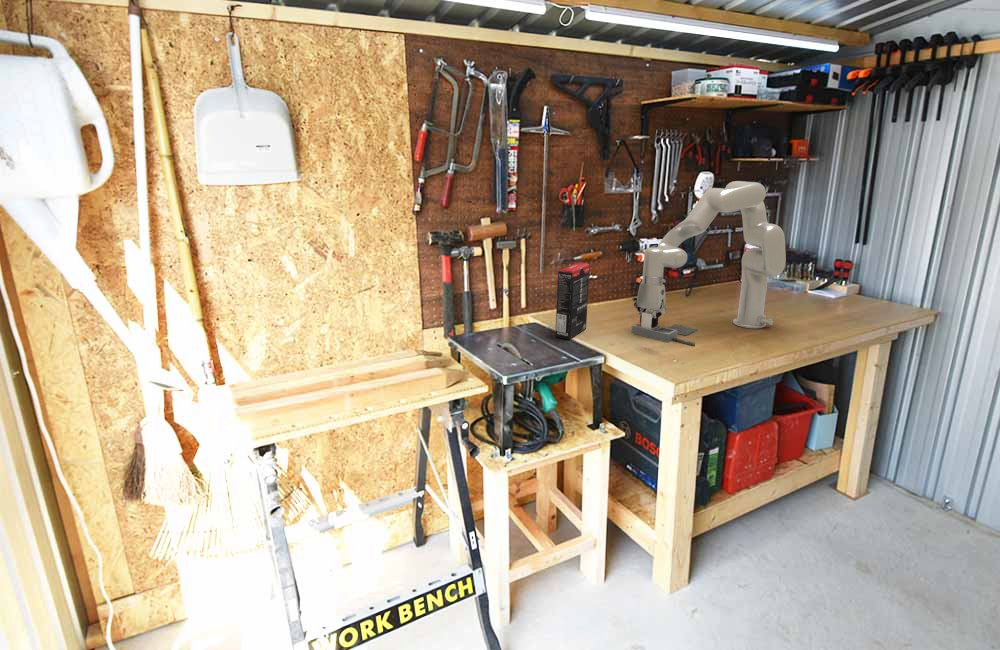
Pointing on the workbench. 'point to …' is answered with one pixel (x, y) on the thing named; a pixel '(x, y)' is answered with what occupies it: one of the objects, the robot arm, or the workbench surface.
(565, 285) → the graphics card box
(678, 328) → the mat
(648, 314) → the block
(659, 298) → the robot arm
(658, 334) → the power strip
